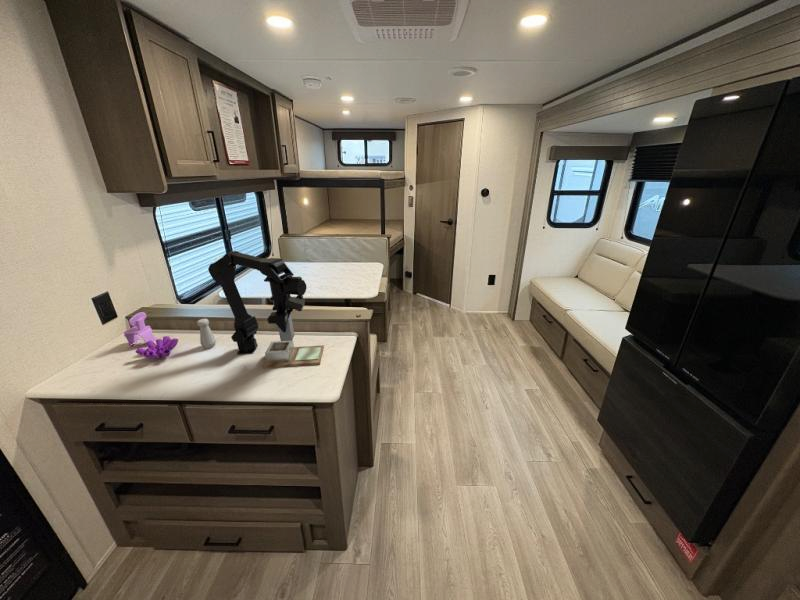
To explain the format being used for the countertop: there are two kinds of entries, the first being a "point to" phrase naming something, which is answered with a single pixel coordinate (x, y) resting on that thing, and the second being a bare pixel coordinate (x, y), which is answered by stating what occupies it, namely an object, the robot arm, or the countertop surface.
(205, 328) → the salt shaker
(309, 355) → the stand board
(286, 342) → the socket
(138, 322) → the toy chair
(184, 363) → the countertop surface
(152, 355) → the purple coral
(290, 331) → the steel key
